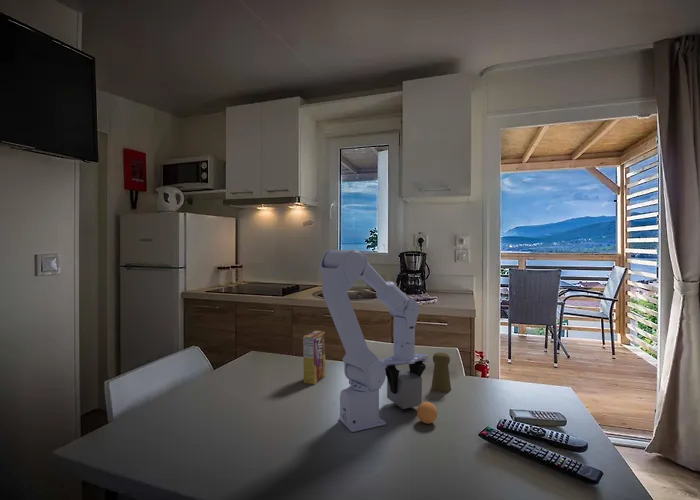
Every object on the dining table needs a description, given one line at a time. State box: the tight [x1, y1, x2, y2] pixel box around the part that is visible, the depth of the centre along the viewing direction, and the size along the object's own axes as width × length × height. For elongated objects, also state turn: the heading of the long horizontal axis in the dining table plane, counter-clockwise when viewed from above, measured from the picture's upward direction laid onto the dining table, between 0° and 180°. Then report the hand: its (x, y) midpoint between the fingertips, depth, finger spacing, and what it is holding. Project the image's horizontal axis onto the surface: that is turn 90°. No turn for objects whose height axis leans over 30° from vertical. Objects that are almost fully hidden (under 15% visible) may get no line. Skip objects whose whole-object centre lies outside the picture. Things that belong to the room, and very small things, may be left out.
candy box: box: [302, 330, 327, 385], centre depth 126 cm, size 9×4×15 cm, turn 160°
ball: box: [416, 401, 438, 425], centre depth 95 cm, size 5×5×5 cm
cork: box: [430, 352, 452, 393], centre depth 118 cm, size 6×6×11 cm
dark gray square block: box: [386, 368, 423, 410], centre depth 105 cm, size 6×8×7 cm
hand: (403, 390), depth 105 cm, fingers closed on dark gray square block, 6 cm apart
